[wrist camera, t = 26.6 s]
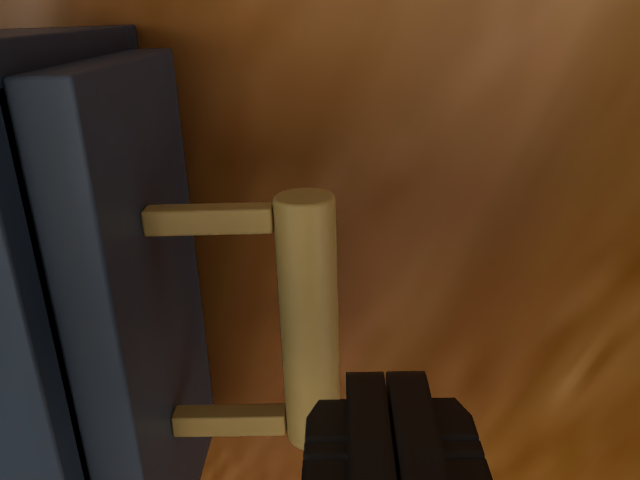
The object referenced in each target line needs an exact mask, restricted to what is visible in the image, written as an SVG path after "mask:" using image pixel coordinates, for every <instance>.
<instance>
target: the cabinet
mask: <svg viewBox="0 0 640 480" xmlns="http://www.w3.org/2000/svg"><path fill="white" fill-rule="evenodd" d="M129 49H138V44H137V36H136V29H135V26H134V25H108V26H78V27H48V28H18V29H0V89H3V88H4V85H3V79H4V78H5V77H7V76H11V75H15V74H20V73H24V72H29V71H33V70H38V69H43V68H47V67H52V66H56V65H61V64H65V63H70V62H75V61H79V60H84V59H88V58H93V57H97V56H102V55H106V54H111V53H116V52H120V51H125V50H129ZM0 480H84V476H83V471H82V467H81V462H80V458H79V454H78V449H77V445H76V440H75V436H74V431H73V427H72V422H71V418H70V413H69V409H68V404H67V400H66V396H65V391H64V387H63V382H62V378H61V373H60V369H59V364H58V360H57V355H56V351H55V346H54V342H53V338H52V333H51V329H50V324H49V320H48V315H47V311H46V306H45V302H44V297H43V293H42V288H41V284H40V280H39V275H38V271H37V266H36V262H35V257H34V253H33V248H32V244H31V239H30V235H29V230H28V226H27V222H26V217H25V213H24V208H23V204H22V199H21V195H20V190H19V186H18V181H17V177H16V172H15V168H14V164H13V159H12V155H11V150H10V146H9V141H8V137H7V132H6V128H5V123H4V119H3V114H2V110H1V106H0Z"/></svg>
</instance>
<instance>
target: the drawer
mask: <svg viewBox="0 0 640 480" xmlns="http://www.w3.org/2000/svg"><path fill="white" fill-rule="evenodd" d="M3 85H4V88H3V89H0V106H1V110H2V114H3V119H4V123H5V128H6V132H7V137H8V141H9V146H10V150H11V155H12V159H13V164H14V168H15V172H16V177H17V181H18V186H19V190H20V195H21V199H22V204H23V208H24V213H25V217H26V222H27V226H28V230H29V235H30V239H31V244H32V248H33V253H34V257H35V262H36V266H37V271H38V275H39V280H40V284H41V288H42V293H43V297H44V302H45V306H46V311H47V315H48V320H49V324H50V329H51V333H52V338H53V342H54V346H55V351H56V355H57V360H58V364H59V369H60V373H61V378H62V382H63V387H64V391H65V396H66V400H67V404H68V409H69V413H70V418H71V422H72V427H73V431H74V436H75V440H76V445H77V449H78V454H79V458H80V462H81V467H82V471H83V476H84V480H200V478H201V474H202V470H203V467H204V463H205V459H206V456H207V452H208V448H209V445H210V441H211V437H217V436H282V435H285V434H286V430H287V436H288V439H289V441H290V442H291V443H292V445H294V446H295V447H296V448H298V449H301V450H304V443H305V428H306V417H307V416H308V415H309V413H310V412H311V410H312V409H313V407H314V406H315V404H316V403H317V402H318V400H330V399H340V366H339V322H338V279H337V235H336V198H335V195H334V194H333V193H332V192H330V191H328V190H325V189H320V188H309V187H305V188H294V189H288V190H285V191H282V192H279V193H277V194H276V195H275V196H274V197H273V200H272V202H240V203H201V204H190V199H189V190H188V182H187V173H186V164H185V156H184V147H183V139H182V130H181V122H180V113H179V104H178V96H177V87H176V79H175V70H174V61H173V53H172V50H171V49H170V48H151V49H129V50H125V51H120V52H116V53H111V54H106V55H102V56H97V57H93V58H88V59H84V60H79V61H75V62H70V63H65V64H61V65H56V66H52V67H47V68H43V69H38V70H33V71H29V72H24V73H20V74H15V75H11V76H7V77H5V78H4V79H3ZM273 229H274V236H275V252H276V267H277V283H278V299H279V315H280V330H281V346H282V362H283V377H284V393H285V403H275V404H215V405H213V396H212V388H211V379H210V370H209V362H208V353H207V345H206V336H205V328H204V319H203V310H202V302H201V293H200V285H199V276H198V267H197V259H196V250H195V242H194V236H195V235H236V234H270V233H272V232H273Z"/></svg>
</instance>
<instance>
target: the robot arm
mask: <svg viewBox="0 0 640 480" xmlns="http://www.w3.org/2000/svg"><path fill="white" fill-rule="evenodd" d="M346 396H347V399H330V400H318V402H317V403H316V404H315V406H314V407H313V409H312V410H311V412H310V413H309V415H308V416H307V417H306V428H305V443H304V454H303V467H302V480H493V479H492V476H491V473H490V470H489V467H488V464H487V461H486V459H485V457H484V451H483V448H482V445H481V442H480V441H479V436H478V433H477V430H476V427H475V424H474V421H473V417H472V415H471V414H470V413H469V412H468V411H467V410H466V409H465V408H464V407H463V406H462V405H461V404H460V403H459V402H458V401H457V400H456V398H431V393H430V389H429V385H428V381H427V377H426V373H425V371H391V372H386V386H385V378H384V372H346Z"/></svg>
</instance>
